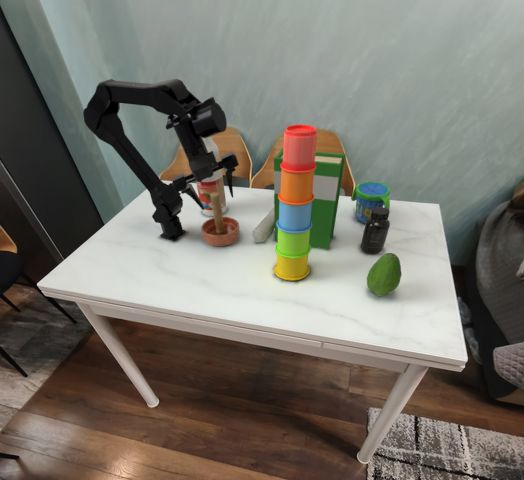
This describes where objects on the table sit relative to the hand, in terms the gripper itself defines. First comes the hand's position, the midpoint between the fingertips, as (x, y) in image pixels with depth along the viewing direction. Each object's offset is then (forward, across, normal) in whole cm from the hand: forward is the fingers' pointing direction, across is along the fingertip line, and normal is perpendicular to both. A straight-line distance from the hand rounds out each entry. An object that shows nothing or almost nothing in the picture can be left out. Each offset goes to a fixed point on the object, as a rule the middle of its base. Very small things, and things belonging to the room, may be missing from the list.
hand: (218, 203), depth 89 cm
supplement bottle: (+27, +39, -10) cm, 48 cm away
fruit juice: (+8, -4, +26) cm, 27 cm away
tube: (+16, +14, +10) cm, 24 cm away
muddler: (+11, -4, +7) cm, 14 cm away
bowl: (+12, -4, +7) cm, 14 cm away
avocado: (+29, +33, -30) cm, 53 cm away
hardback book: (+20, +21, 0) cm, 29 cm away
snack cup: (+25, +45, +7) cm, 52 cm away
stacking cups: (+21, +13, -16) cm, 29 cm away
